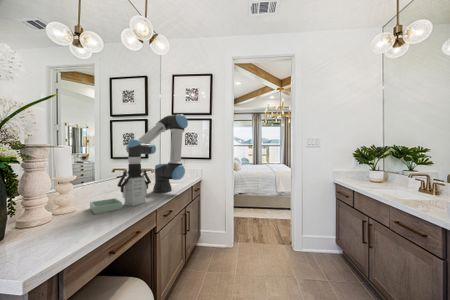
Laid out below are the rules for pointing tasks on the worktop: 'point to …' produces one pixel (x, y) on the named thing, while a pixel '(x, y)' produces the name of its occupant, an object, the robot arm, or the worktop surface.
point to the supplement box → (135, 191)
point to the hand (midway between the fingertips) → (134, 195)
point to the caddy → (105, 206)
